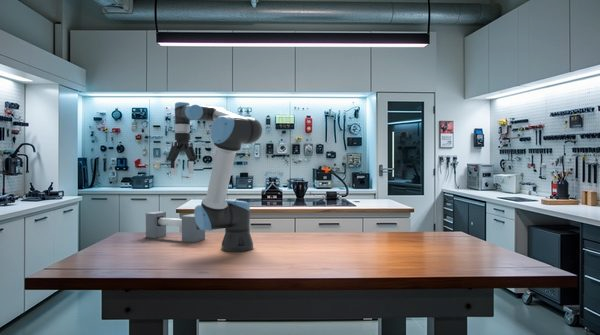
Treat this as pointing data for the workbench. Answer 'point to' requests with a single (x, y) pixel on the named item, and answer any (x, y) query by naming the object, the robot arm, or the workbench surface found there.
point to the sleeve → (191, 229)
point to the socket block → (155, 225)
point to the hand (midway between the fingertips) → (182, 174)
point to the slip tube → (169, 221)
